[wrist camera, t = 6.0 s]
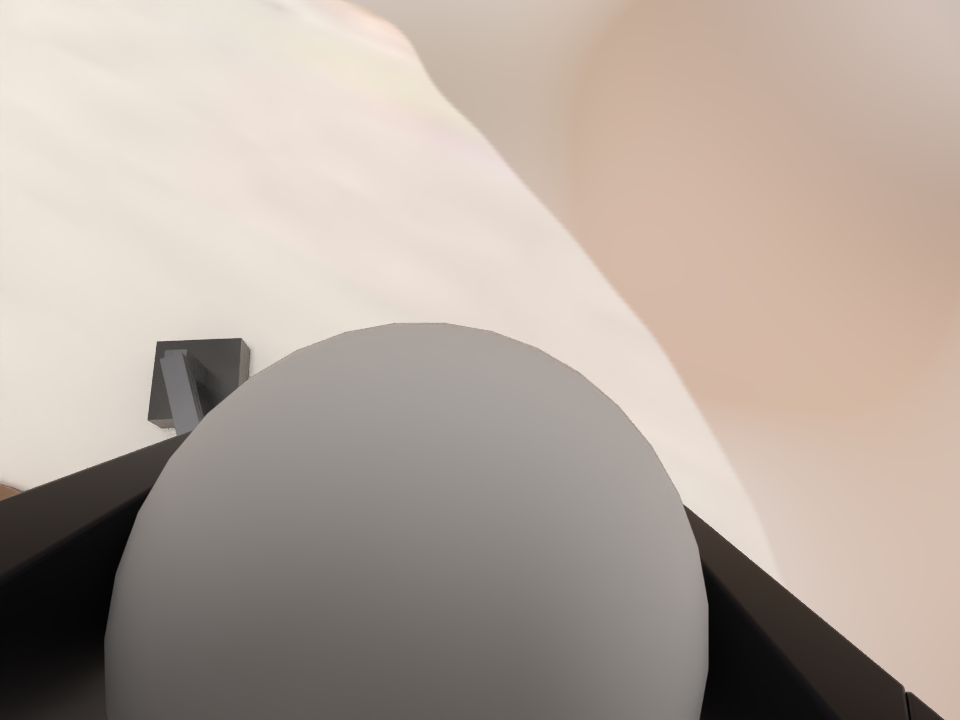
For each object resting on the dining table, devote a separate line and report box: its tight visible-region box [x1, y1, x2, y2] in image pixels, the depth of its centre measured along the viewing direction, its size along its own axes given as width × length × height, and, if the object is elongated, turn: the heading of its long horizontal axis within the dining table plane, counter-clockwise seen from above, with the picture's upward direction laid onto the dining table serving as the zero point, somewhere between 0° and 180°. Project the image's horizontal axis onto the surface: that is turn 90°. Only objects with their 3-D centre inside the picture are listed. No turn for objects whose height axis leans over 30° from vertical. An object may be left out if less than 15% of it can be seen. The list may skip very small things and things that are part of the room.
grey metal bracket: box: [148, 338, 250, 436], centre depth 18 cm, size 18×4×3 cm, turn 5°
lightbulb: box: [104, 323, 708, 720], centre depth 9 cm, size 6×6×11 cm
